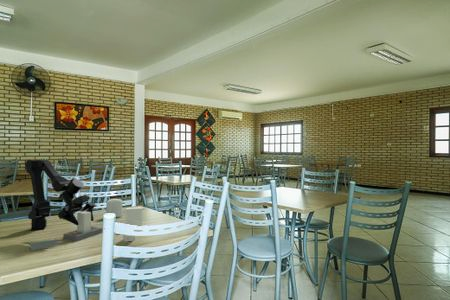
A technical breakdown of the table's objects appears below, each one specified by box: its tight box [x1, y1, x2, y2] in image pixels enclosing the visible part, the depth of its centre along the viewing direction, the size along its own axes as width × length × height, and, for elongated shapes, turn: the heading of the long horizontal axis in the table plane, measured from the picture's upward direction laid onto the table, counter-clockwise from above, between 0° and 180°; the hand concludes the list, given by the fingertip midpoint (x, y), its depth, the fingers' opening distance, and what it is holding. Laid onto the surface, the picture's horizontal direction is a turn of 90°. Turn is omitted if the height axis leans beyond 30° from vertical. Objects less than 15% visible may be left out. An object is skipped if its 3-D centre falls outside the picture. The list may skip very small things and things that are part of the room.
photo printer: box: [105, 198, 123, 218], centre depth 184 cm, size 10×4×12 cm, turn 123°
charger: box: [76, 211, 92, 233], centre depth 141 cm, size 4×5×12 cm
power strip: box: [62, 225, 104, 242], centre depth 141 cm, size 16×9×4 cm, turn 158°
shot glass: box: [122, 234, 136, 242], centre depth 138 cm, size 7×7×7 cm
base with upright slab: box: [125, 206, 144, 227], centre depth 158 cm, size 9×9×12 cm
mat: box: [29, 238, 61, 252], centre depth 128 cm, size 11×11×1 cm
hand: (85, 222), depth 141 cm, fingers open, 9 cm apart
